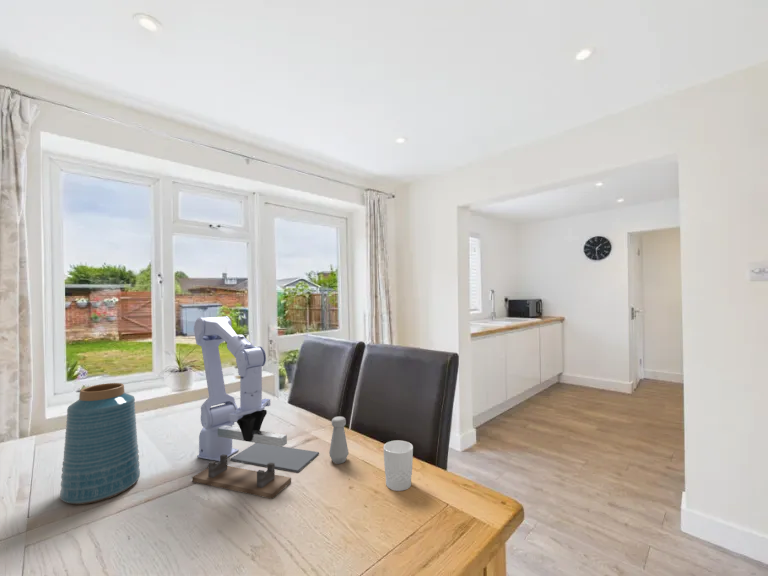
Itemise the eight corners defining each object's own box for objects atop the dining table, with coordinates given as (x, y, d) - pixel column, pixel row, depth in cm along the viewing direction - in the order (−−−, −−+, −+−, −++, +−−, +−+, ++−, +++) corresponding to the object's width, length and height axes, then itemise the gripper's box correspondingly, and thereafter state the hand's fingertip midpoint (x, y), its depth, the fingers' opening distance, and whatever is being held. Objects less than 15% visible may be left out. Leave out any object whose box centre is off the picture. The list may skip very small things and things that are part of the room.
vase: (48, 515, 81) (49, 399, 81) (72, 481, 95) (72, 384, 96) (134, 495, 88) (134, 390, 89) (144, 467, 103) (144, 377, 103)
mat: (230, 460, 107) (230, 458, 107) (256, 444, 118) (256, 442, 118) (298, 472, 99) (298, 470, 99) (319, 454, 111) (319, 452, 111)
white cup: (416, 479, 95) (416, 442, 95) (409, 495, 88) (408, 455, 88) (389, 474, 98) (388, 438, 98) (379, 489, 90) (379, 450, 90)
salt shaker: (345, 466, 103) (344, 421, 103) (326, 464, 104) (326, 420, 104) (350, 457, 108) (350, 415, 109) (333, 455, 110) (333, 413, 110)
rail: (217, 436, 101) (217, 428, 101) (224, 433, 103) (223, 425, 103) (281, 447, 94) (281, 438, 94) (286, 443, 96) (286, 434, 96)
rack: (192, 481, 95) (192, 462, 95) (215, 467, 103) (215, 450, 103) (272, 498, 87) (272, 478, 87) (290, 482, 94) (290, 463, 94)
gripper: (244, 399, 91) (244, 451, 90) (278, 385, 104) (278, 430, 104) (223, 396, 93) (223, 447, 93) (259, 383, 107) (259, 427, 106)
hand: (251, 438), depth 99 cm, fingers closed on rail, 2 cm apart
